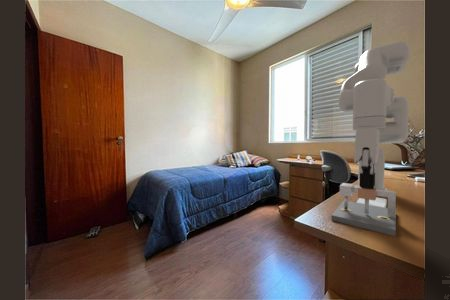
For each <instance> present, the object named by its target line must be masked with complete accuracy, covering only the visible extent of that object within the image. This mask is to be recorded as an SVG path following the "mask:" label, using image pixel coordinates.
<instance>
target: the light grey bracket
mask: <svg viewBox="0 0 450 300" xmlns="http://www.w3.org/2000/svg"><path fill="white" fill-rule="evenodd" d="M354 193H357V194H358V187H356V186H355V184H354V183H348V182H342V183H340V185H339V196H343V198H344V199H343V201H344V209H348V201H349V197H352V196H353V195H354ZM396 196H397V192H396V191H393V190H388V191H387V190H379V189H376V197H381V198H387V208H388V217H389V218H394V219H395V210H396V205H397V204H396V202H397V201H396V199H397V197H396Z"/></svg>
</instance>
